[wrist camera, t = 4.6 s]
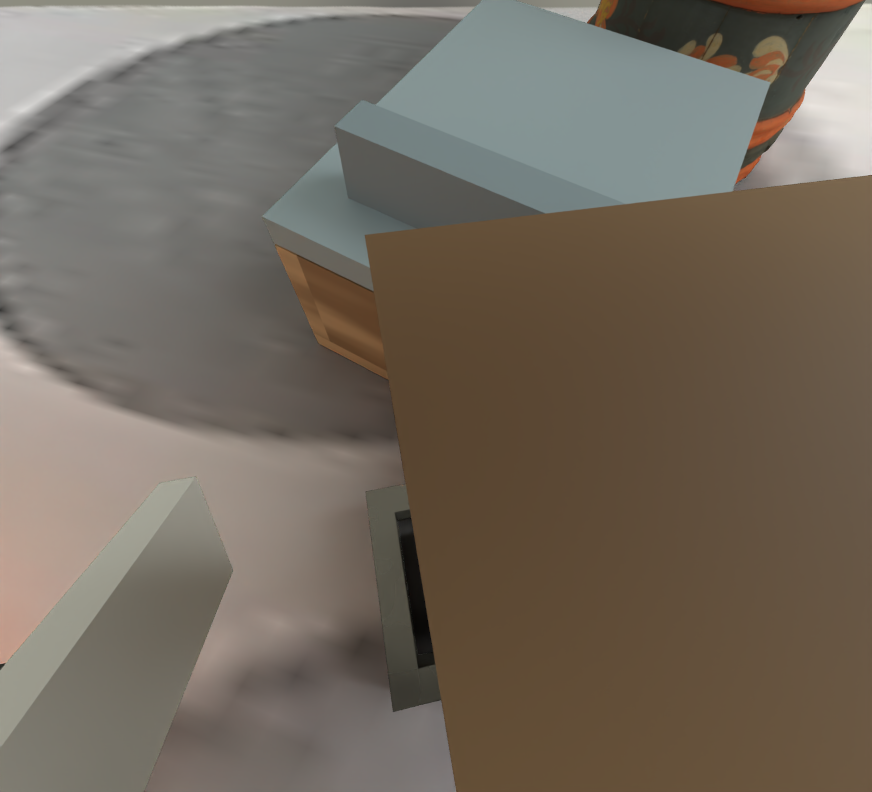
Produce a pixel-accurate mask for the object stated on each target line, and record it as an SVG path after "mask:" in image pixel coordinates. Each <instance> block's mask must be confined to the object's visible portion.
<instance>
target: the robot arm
mask: <svg viewBox="0 0 872 792" xmlns="http://www.w3.org/2000/svg"><path fill="white" fill-rule="evenodd" d="M232 572H233V569H232V566H231V564H230V561H229V559H228V556H227V554H226V551H225V549H224V546H223V543H222V541H221V538H220V536H219V533H218V531H217V528H216V526H215V523H214V521H213V518H212V516H211V513H210V510H209V508H208V505H207V503H206V500H205V498H204V495H203V493H202V490H201V488H200V485H199V483H198V480H197V477H191V478H185V479H179V480H174V481H168V482H162V483H159V485H158V486H157V487H156V488H155V489H154V490H153V492H152V493H151V494H150V495H149V496H148V497H147V499H146V500H145V501H144V502H143V503H142V504H141V506H140V507H139V508H138V509H137V510H136V511H135V513H134V514H133V515H132V516H131V517H130V519H129V520H128V521H127V522H126V523H125V524H124V526H123V527H122V528H121V529H120V530H119V531H118V533H117V534H116V535H115V536H114V537H113V538H112V540H111V541H110V542H109V543H108V544H107V546H106V547H105V548H104V549H103V550H102V551H101V553H100V554H99V555H98V556H97V557H96V558H95V560H94V561H93V562H92V563H91V564H90V565H89V567H88V568H87V569H86V570H85V571H84V573H83V574H82V575H81V576H80V577H79V578H78V580H77V581H76V582H75V583H74V584H73V585H72V587H71V588H70V589H69V590H68V591H67V592H66V594H65V595H64V596H63V597H62V598H61V599H60V601H59V602H58V603H57V604H56V605H55V607H54V608H53V609H52V610H51V611H50V612H49V614H48V615H47V616H46V617H45V618H44V619H43V621H42V622H41V623H40V624H39V625H38V626H37V628H36V629H35V630H34V631H33V632H32V634H31V635H30V636H29V637H28V638H27V639H26V641H25V642H24V643H23V644H22V645H21V646H20V648H19V649H18V650H17V651H16V652H15V653H14V655H13V656H12V657H11V658H10V659H9V661H8V662H7V663H5V664H0V792H144V791H145V788H146V786H147V783H148V781H149V778H150V776H151V773H152V771H153V768H154V766H155V763H156V761H157V758H158V756H159V753H160V751H161V748H162V746H163V743H164V741H165V739H166V736H167V734H168V731H169V729H170V726H171V724H172V721H173V719H174V716H175V714H176V711H177V709H178V706H179V704H180V701H181V699H182V696H183V694H184V691H185V689H186V686H187V684H188V681H189V679H190V676H191V674H192V671H193V669H194V666H195V664H196V661H197V659H198V656H199V654H200V652H201V649H202V647H203V644H204V642H205V639H206V637H207V634H208V632H209V629H210V627H211V624H212V622H213V619H214V617H215V614H216V612H217V609H218V607H219V604H220V602H221V599H222V597H223V594H224V592H225V589H226V587H227V584H228V582H229V579H230V577H231V574H232Z"/></svg>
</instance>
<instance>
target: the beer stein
mask: <svg viewBox="0 0 872 792" xmlns="http://www.w3.org/2000/svg"><path fill="white" fill-rule="evenodd" d="M864 2H865V0H601V2H600V4H599V7H598V9H597V11H596V14H594V15H593V16H592V17H591V19H590V20H589V21H588V22H587V23H588V24H591V25H594V26H597V27H600V28H603V29H606V30H609V31H612V32H616V33H619V34H622V35H625V36H628V37H631V38H634V39H637V40H640V41H643V42H647V43H650V44H653V45H656V46H659V47H662V48H665V49H668V50H671V51H675V52H678V53H681V54H684V55H687V56H690V57H693V58H696V59H699V60H702V61H706V62H709V63H712V64H715V65H718V66H721V67H724V68H727V69H730V70H733V71H737V72H740V73H743V74H746V75H749V76H752V77H755V78H758V79H761V80H765V81H768V82H771V83H770V85H769V88H768V91H767V94H766V97H765V100H764V103H763V106H762V108H761V111H760V114H759V117H758V120H757V123H756V126H755V128H754V131H753V134H752V137H751V140H750V143H749V146H748V148H747V151H746V154H745V157H744V160H743V163H742V166H741V168H740V171H739V174H738V177H737V180H736V183H737V182H739V181H740V180H742V179H743V178H746V176H747V175H748V174H749V173H750V172H751V171H752V169H753V168H754V166H755V165H756V164H757V163H758V162H759V158H760V157H761V155H762V154H763V153H764V152H766V151H767V150H768V149H769V148H770V147H771V145H772V144H773V143H774V142H775V141H776V139H777V138H778V136H779V134H780V133H781V132H782V130H783V127H784V126H785V125H786V124H787V123H788V122H789V121H790V120H791V118H792V117H793V115H794V113H795V112H796V111H797V109H798V108H799V107H800V105H801V103H802V102H803V99H804V95H805V88H806V86H807V85H808V84H809V82H810V81H811V79H812V78H813V76H814V75H815V74H816V72H817V71H818V69H819V68H820V67H821V65H822V64H823V62H824V61H825V59H826V58H827V56H828V55H829V53H830V52H831V50H832V49H833V47H834V46H835V45H836V43H837V42H838V40H839V39H840V37H841V36H842V34H843V33H844V31H845V30H846V29H847V27H848V26H849V24H850V23H851V21H852V20H853V18H854V17H855V15H856V14H857V12H858V11H859V9H860V8H861V6H862V5H863V3H864ZM736 183H735V184H736Z"/></svg>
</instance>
